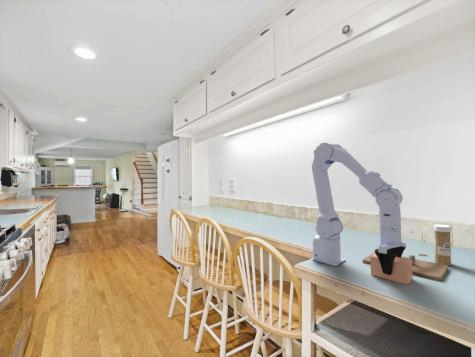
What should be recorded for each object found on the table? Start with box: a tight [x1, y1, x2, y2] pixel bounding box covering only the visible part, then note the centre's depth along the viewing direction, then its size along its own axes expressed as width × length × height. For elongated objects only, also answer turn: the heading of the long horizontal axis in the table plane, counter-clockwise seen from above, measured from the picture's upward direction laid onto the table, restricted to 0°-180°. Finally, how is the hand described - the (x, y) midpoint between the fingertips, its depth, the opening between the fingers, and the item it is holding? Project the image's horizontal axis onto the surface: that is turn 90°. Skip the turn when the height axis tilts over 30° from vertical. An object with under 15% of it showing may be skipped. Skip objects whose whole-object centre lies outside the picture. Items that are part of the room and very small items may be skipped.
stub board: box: [362, 251, 449, 282], centre depth 83 cm, size 22×13×4 cm, turn 41°
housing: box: [370, 254, 414, 285], centre depth 75 cm, size 10×5×6 cm, turn 41°
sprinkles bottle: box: [433, 224, 452, 267], centre depth 84 cm, size 5×5×14 cm
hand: (391, 270), depth 75 cm, fingers open, 6 cm apart
